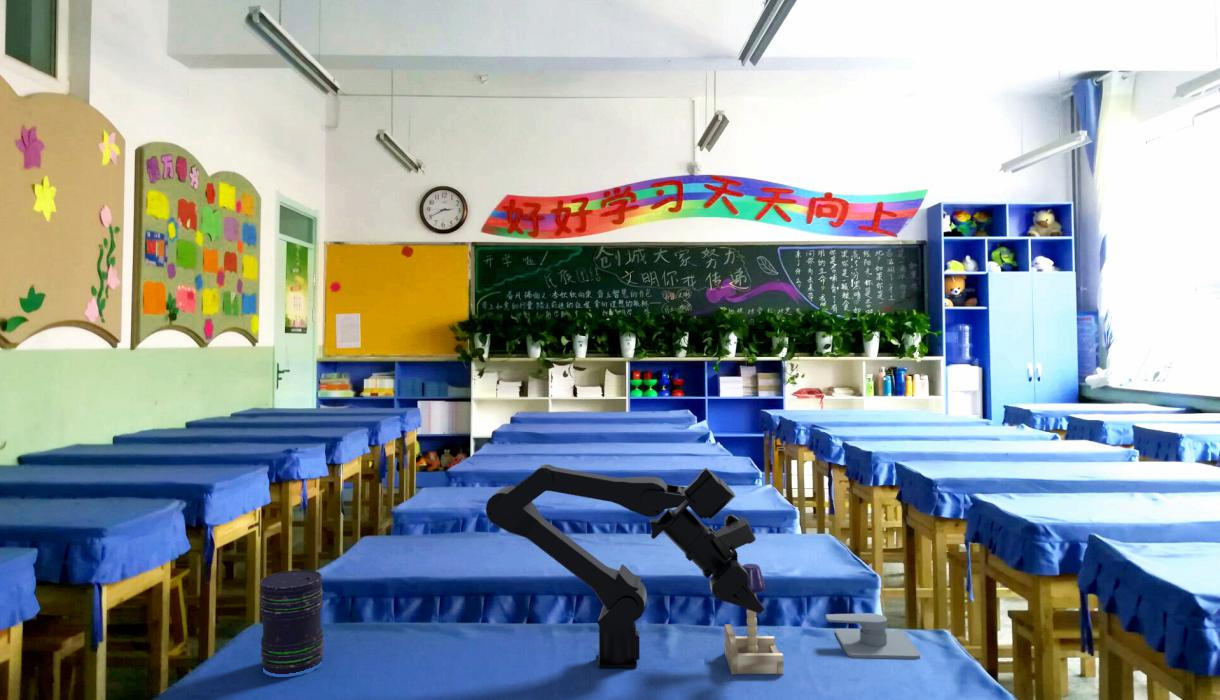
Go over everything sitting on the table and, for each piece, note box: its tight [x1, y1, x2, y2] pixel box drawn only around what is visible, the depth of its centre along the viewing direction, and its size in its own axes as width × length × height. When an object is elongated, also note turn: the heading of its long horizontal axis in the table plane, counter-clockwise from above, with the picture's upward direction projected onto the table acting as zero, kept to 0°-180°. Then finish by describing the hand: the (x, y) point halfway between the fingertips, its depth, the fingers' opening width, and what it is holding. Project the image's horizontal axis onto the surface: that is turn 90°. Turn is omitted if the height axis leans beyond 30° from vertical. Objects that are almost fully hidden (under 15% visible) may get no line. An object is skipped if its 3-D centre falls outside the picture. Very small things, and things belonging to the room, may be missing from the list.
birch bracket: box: [724, 623, 785, 675], centre depth 141 cm, size 8×9×5 cm
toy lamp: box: [742, 563, 766, 653], centre depth 141 cm, size 5×5×17 cm
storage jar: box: [259, 569, 324, 674], centre depth 141 cm, size 10×10×15 cm
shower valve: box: [825, 612, 921, 660], centre depth 150 cm, size 12×6×15 cm
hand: (757, 602), depth 141 cm, fingers open, 9 cm apart
